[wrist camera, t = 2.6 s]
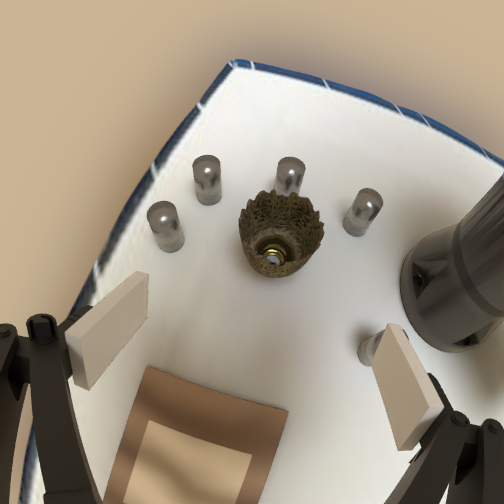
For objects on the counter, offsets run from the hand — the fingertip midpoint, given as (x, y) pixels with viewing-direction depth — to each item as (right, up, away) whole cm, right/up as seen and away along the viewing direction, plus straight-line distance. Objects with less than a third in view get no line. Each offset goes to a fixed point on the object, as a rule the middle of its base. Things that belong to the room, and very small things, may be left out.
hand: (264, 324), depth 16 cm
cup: (+2, +3, +18) cm, 18 cm away
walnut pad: (-7, -18, +7) cm, 20 cm away
